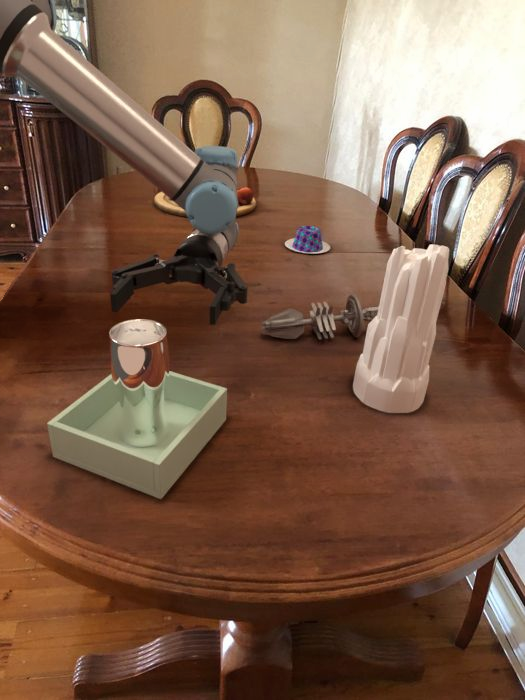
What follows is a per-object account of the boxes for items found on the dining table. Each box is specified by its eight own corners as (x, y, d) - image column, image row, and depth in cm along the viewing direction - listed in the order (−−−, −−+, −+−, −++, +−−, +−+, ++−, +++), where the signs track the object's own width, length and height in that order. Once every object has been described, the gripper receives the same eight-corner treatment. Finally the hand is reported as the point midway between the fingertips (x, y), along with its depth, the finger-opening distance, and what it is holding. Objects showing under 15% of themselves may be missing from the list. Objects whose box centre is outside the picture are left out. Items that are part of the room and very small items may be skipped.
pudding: (339, 252, 136) (342, 232, 134) (301, 258, 131) (304, 238, 128) (312, 238, 145) (314, 219, 142) (275, 243, 139) (277, 224, 137)
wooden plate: (274, 205, 172) (276, 179, 168) (218, 227, 148) (218, 198, 144) (196, 187, 185) (196, 163, 181) (132, 205, 161) (131, 178, 157)
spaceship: (460, 306, 93) (443, 274, 97) (266, 331, 88) (257, 296, 92) (446, 333, 99) (430, 302, 104) (264, 358, 94) (256, 325, 99)
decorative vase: (341, 379, 84) (366, 227, 72) (398, 370, 88) (431, 223, 75) (376, 420, 76) (411, 255, 63) (437, 408, 79) (483, 249, 66)
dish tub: (53, 458, 65) (46, 423, 62) (132, 390, 78) (130, 358, 76) (161, 500, 60) (159, 464, 57) (226, 420, 73) (227, 388, 71)
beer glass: (179, 421, 71) (177, 323, 64) (159, 454, 65) (154, 351, 58) (131, 411, 72) (123, 314, 65) (107, 443, 66) (95, 340, 59)
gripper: (128, 225, 87) (70, 272, 69) (276, 242, 85) (256, 295, 67) (131, 268, 91) (76, 322, 73) (273, 284, 89) (253, 345, 71)
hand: (162, 309), depth 70 cm, fingers open, 13 cm apart
